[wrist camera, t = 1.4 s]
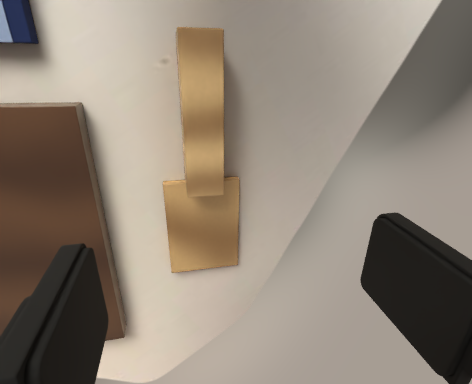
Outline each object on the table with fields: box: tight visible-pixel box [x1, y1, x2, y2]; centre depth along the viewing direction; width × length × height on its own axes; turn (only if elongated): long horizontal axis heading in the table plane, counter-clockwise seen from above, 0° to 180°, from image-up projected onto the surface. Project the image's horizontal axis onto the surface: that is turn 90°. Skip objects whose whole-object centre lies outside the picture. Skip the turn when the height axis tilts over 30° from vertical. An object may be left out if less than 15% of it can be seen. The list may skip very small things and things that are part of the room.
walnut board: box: [0, 102, 126, 341], centre depth 25 cm, size 24×12×2 cm, turn 179°
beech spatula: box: [163, 27, 239, 273], centre depth 25 cm, size 22×7×4 cm, turn 179°
